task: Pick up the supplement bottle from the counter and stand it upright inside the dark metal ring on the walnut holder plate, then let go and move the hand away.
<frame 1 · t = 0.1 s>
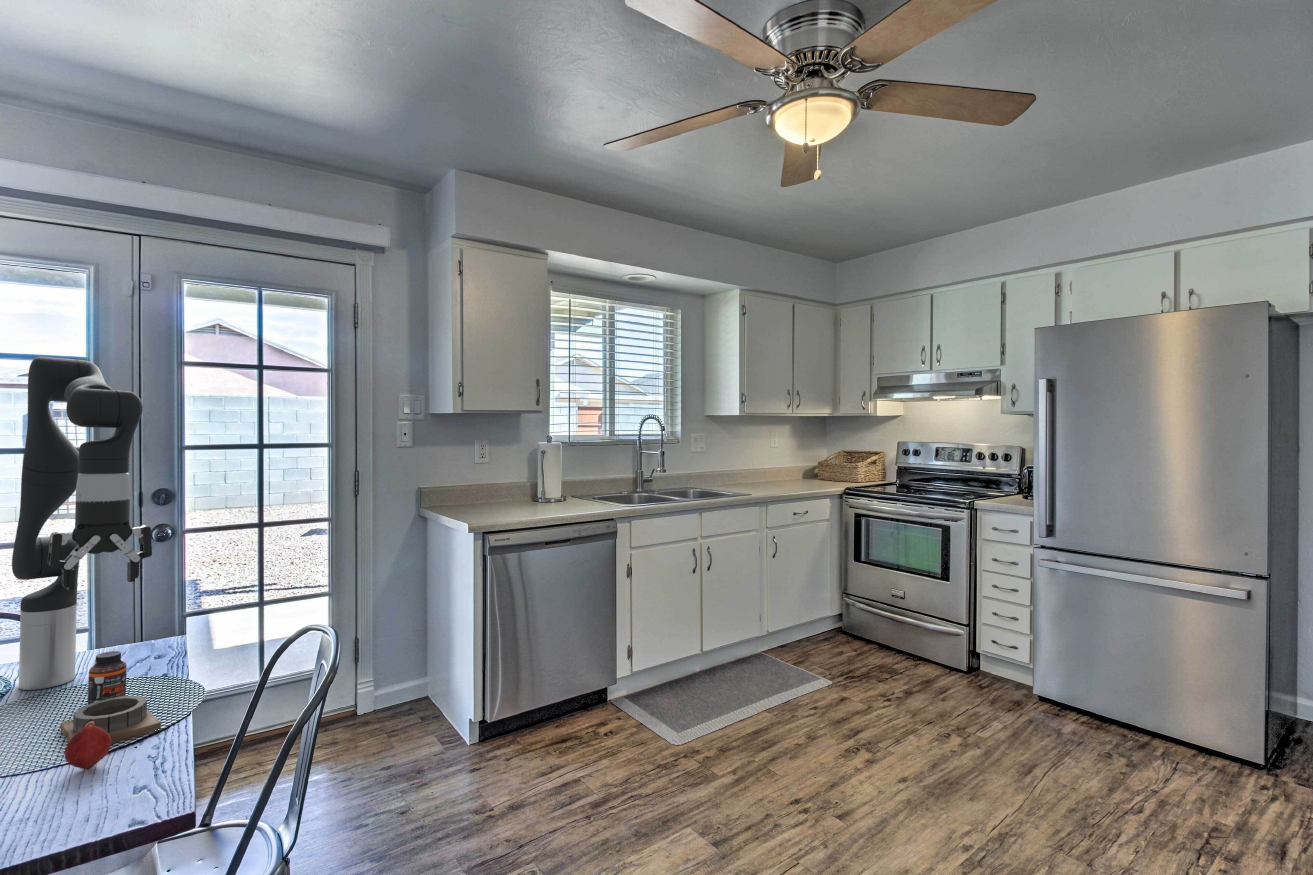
hand: (101, 585, 115), 29 cm above the table, tool pointing down, fingers open, 8 cm apart
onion: (88, 770, 106), on the table
ring holder: (110, 730, 120), on the table
supplement bottle: (106, 709, 130), on the table
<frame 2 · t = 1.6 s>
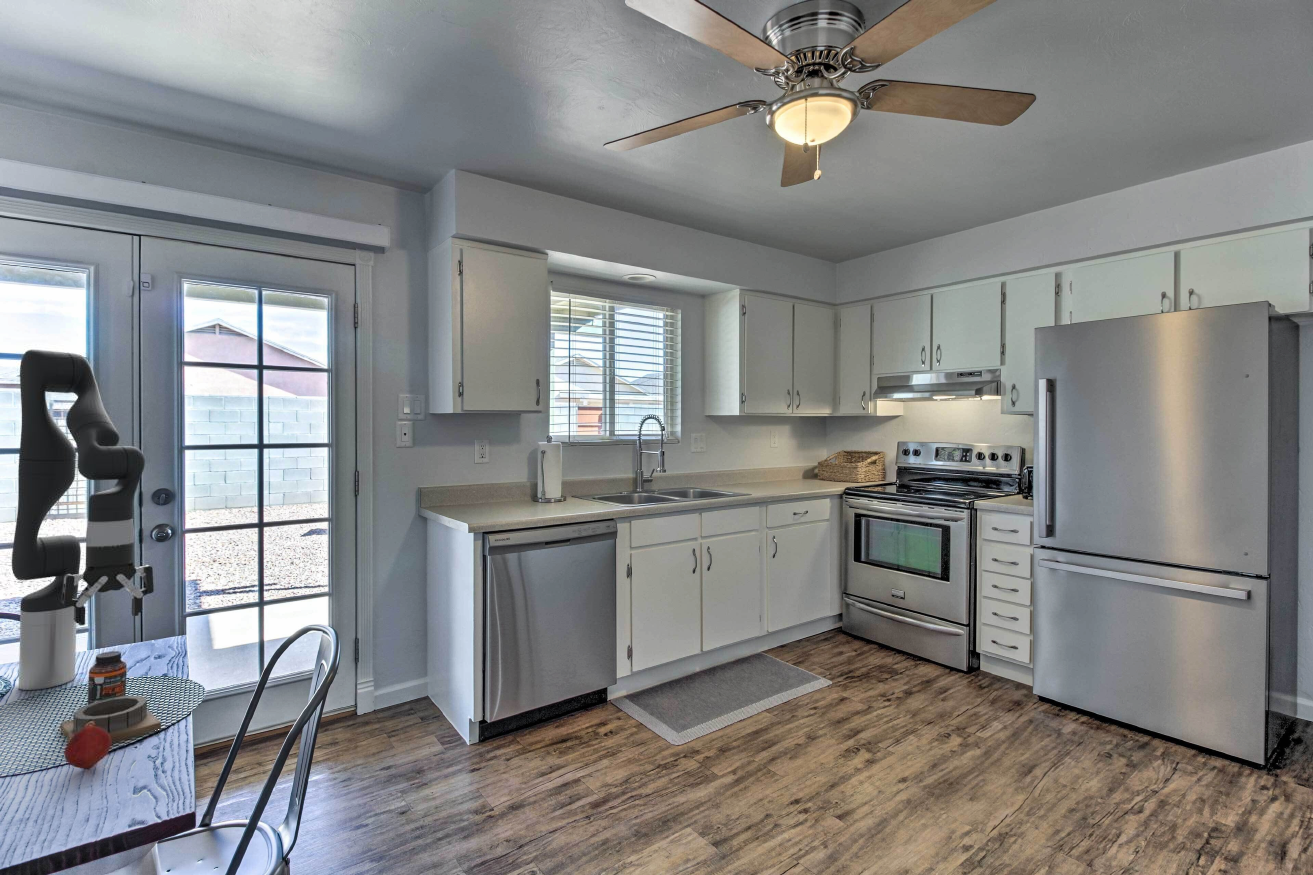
hand: (108, 619, 130), 18 cm above the table, tool pointing down, fingers open, 8 cm apart
nothing on the table moved.
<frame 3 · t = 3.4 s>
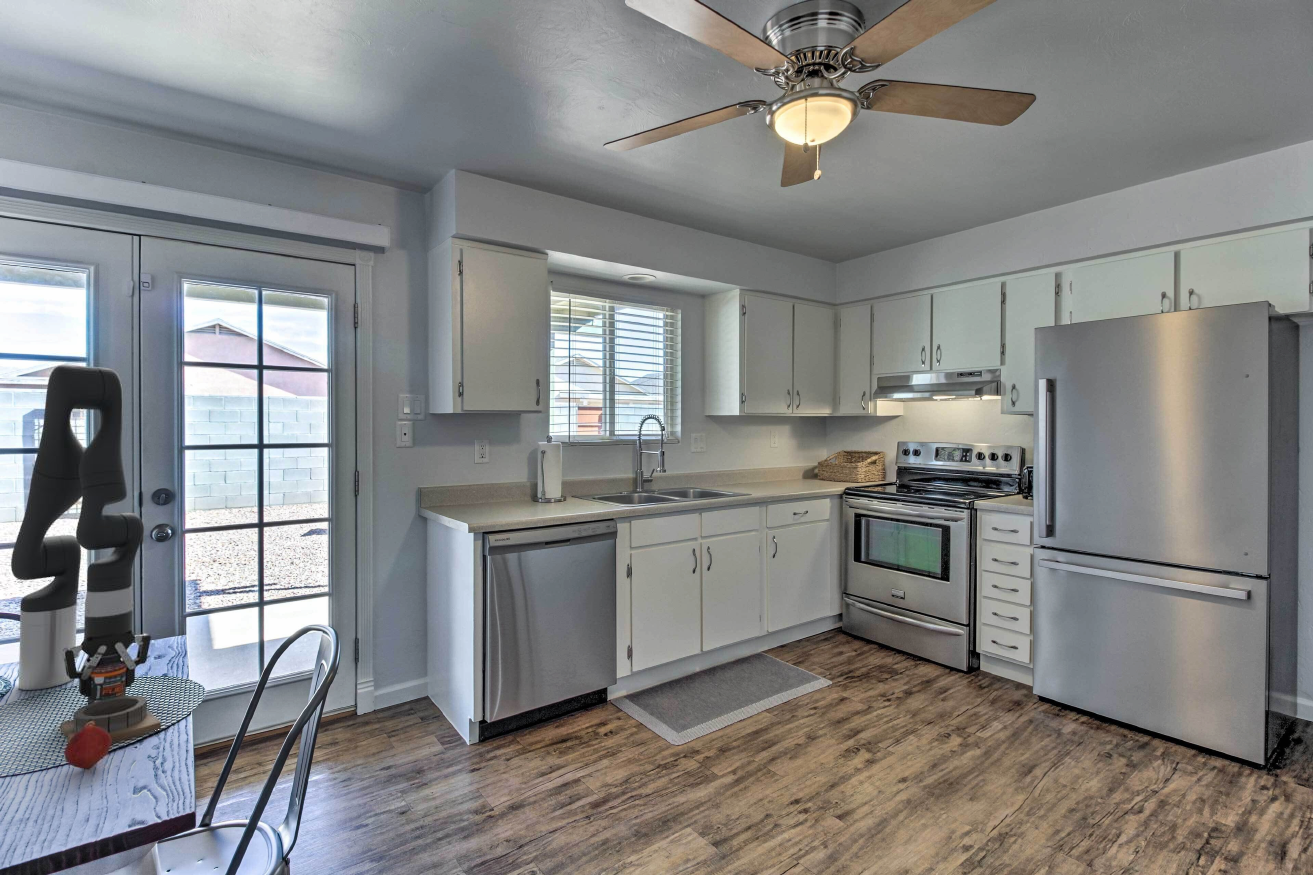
hand: (107, 690, 130), 4 cm above the table, tool pointing down, fingers closed on supplement bottle, 6 cm apart
supplement bottle: (106, 709, 130), on the table, touching gripper
everything else where it was.
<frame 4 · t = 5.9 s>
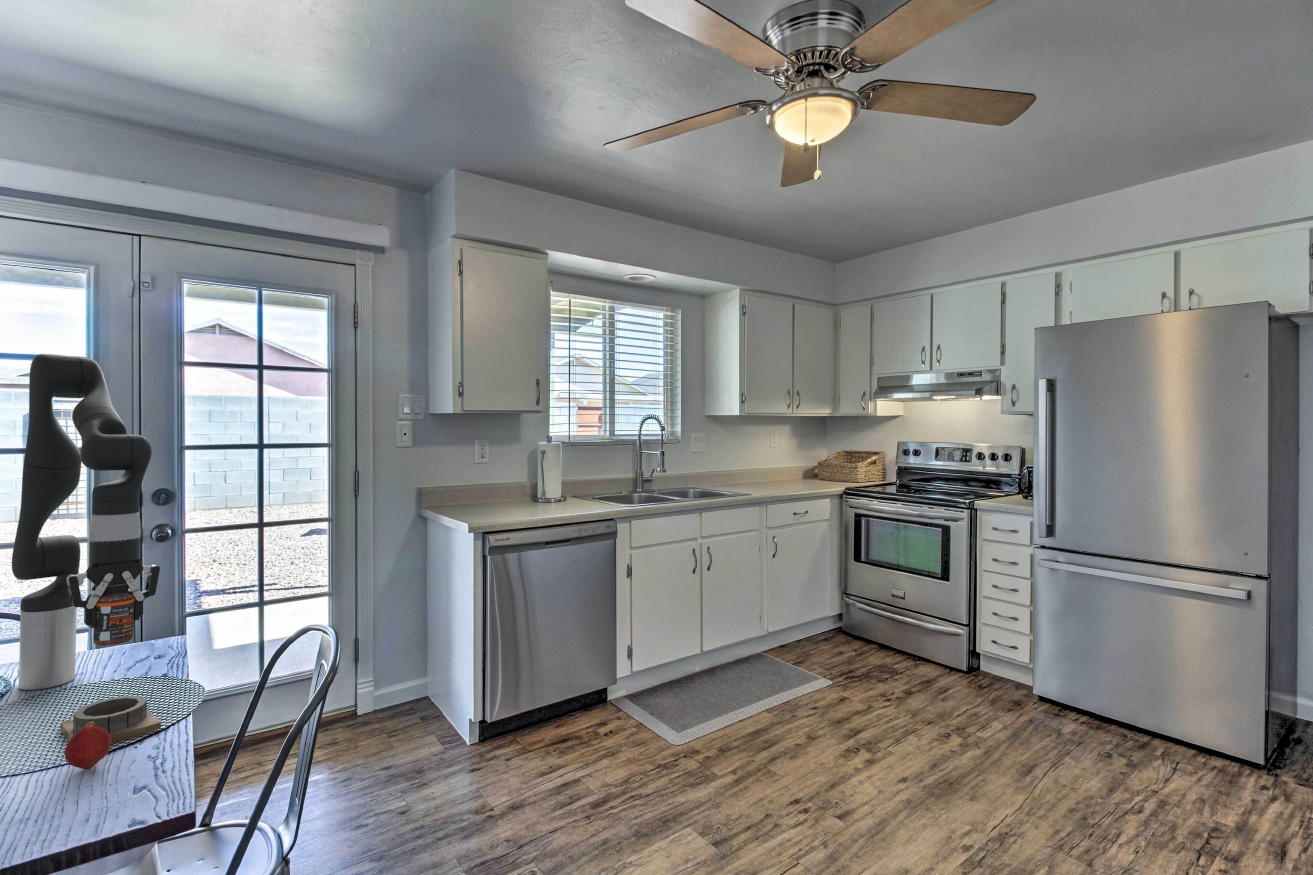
hand: (114, 623, 121), 20 cm above the table, tool pointing down, fingers closed on supplement bottle, 6 cm apart
supplement bottle: (113, 642, 121), point 16 cm above the table, touching gripper
everything else where it was.
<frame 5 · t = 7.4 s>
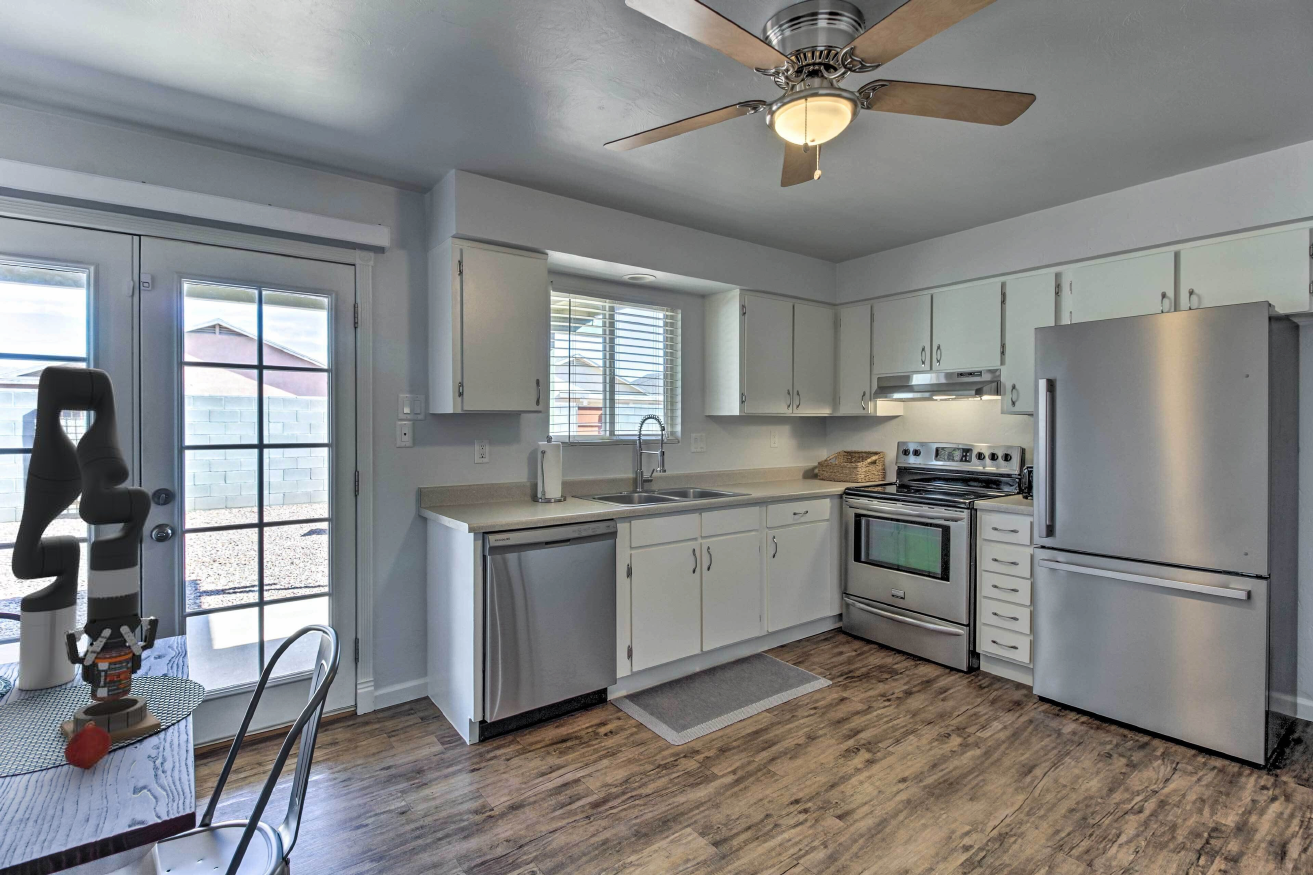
hand: (111, 677, 120), 10 cm above the table, tool pointing down, fingers closed on supplement bottle, 6 cm apart
supplement bottle: (111, 697, 120), point 6 cm above the table, touching gripper
everything else where it was.
when the fingers open (6 cm above the table, at t = 8.6 s): supplement bottle drops 1 cm, resting on ring holder.
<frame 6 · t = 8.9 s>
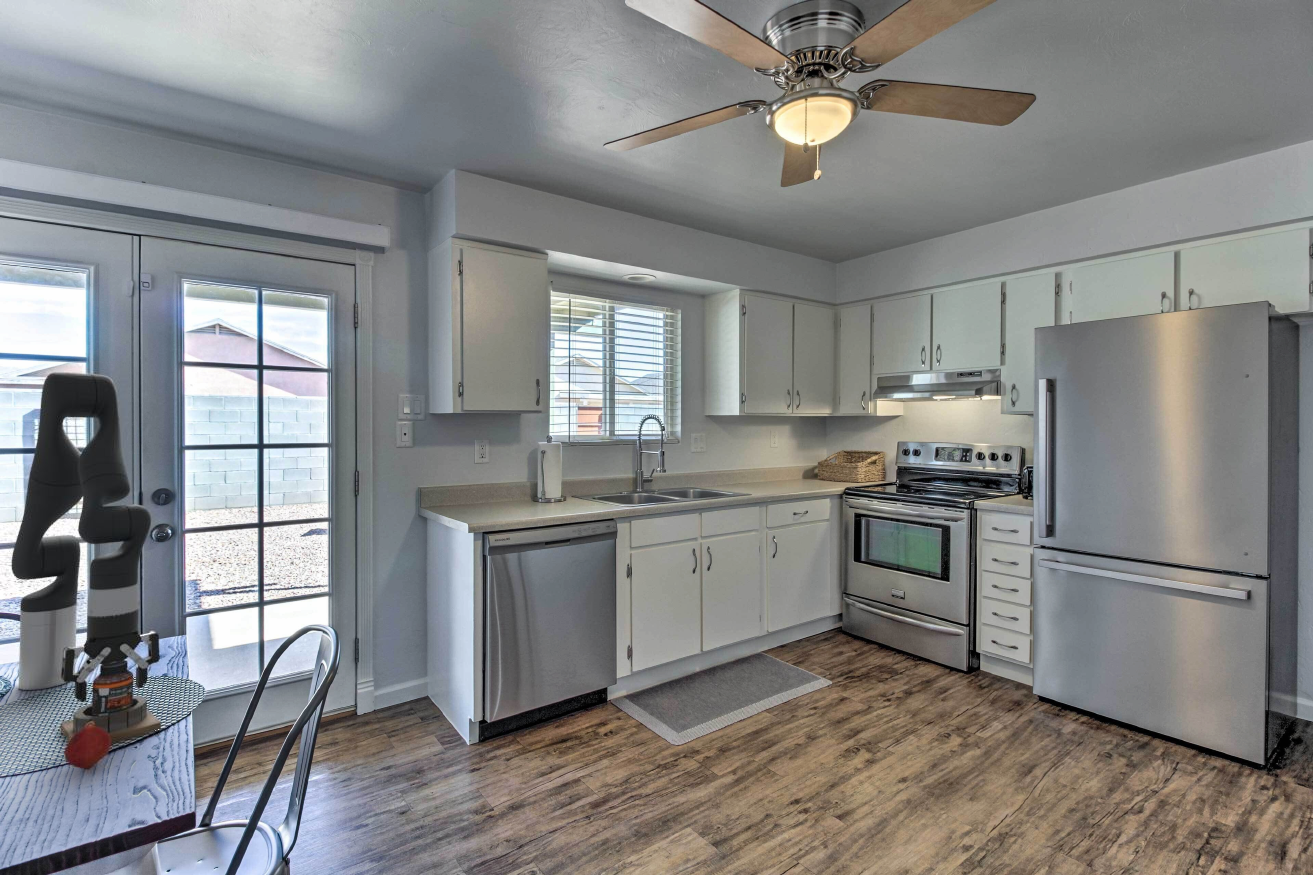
hand: (111, 693, 120), 7 cm above the table, tool pointing down, fingers open, 8 cm apart
supplement bottle: (112, 722, 120), point 1 cm above the table, touching ring holder
everything else where it was.
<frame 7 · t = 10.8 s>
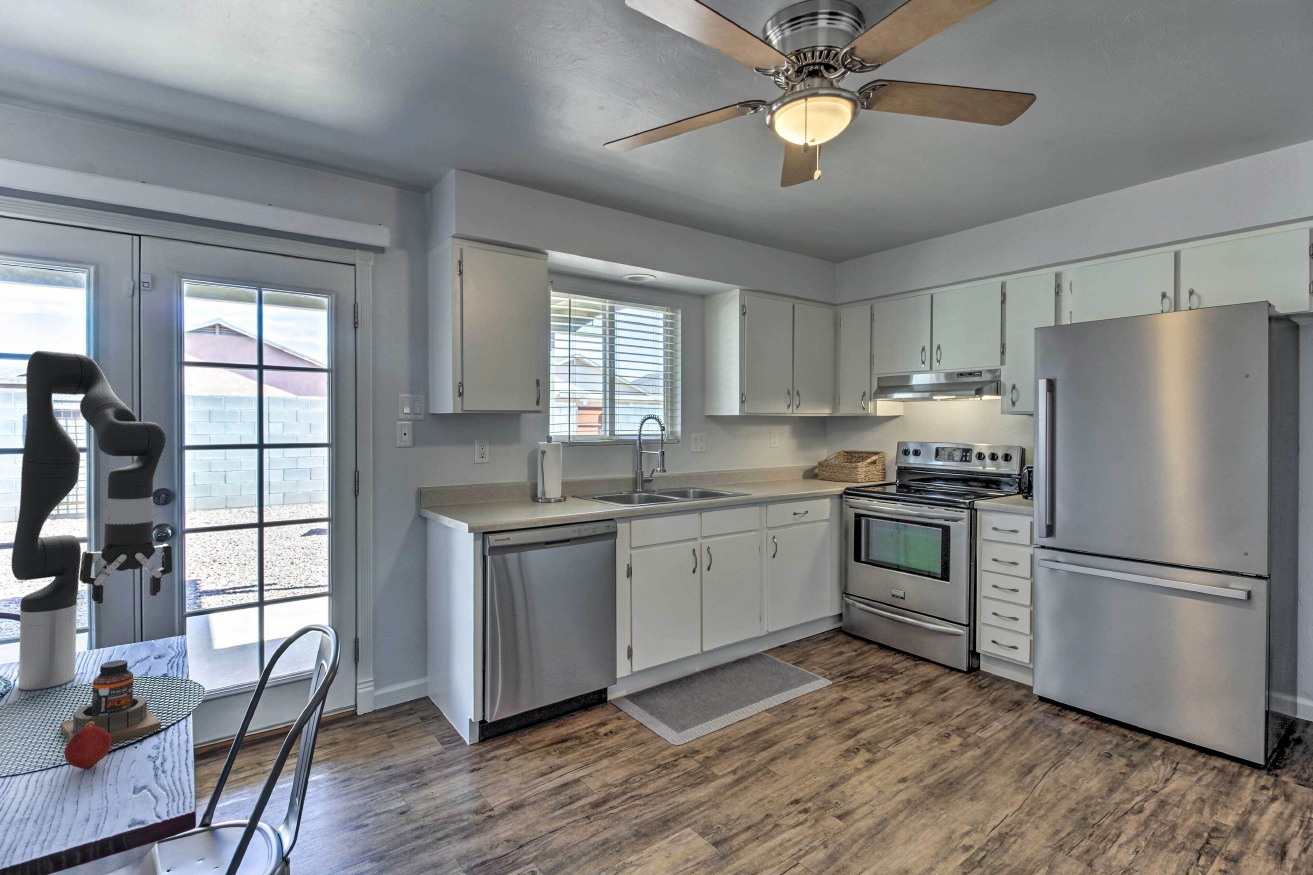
hand: (126, 598, 127), 23 cm above the table, tool pointing down, fingers open, 8 cm apart
nothing on the table moved.
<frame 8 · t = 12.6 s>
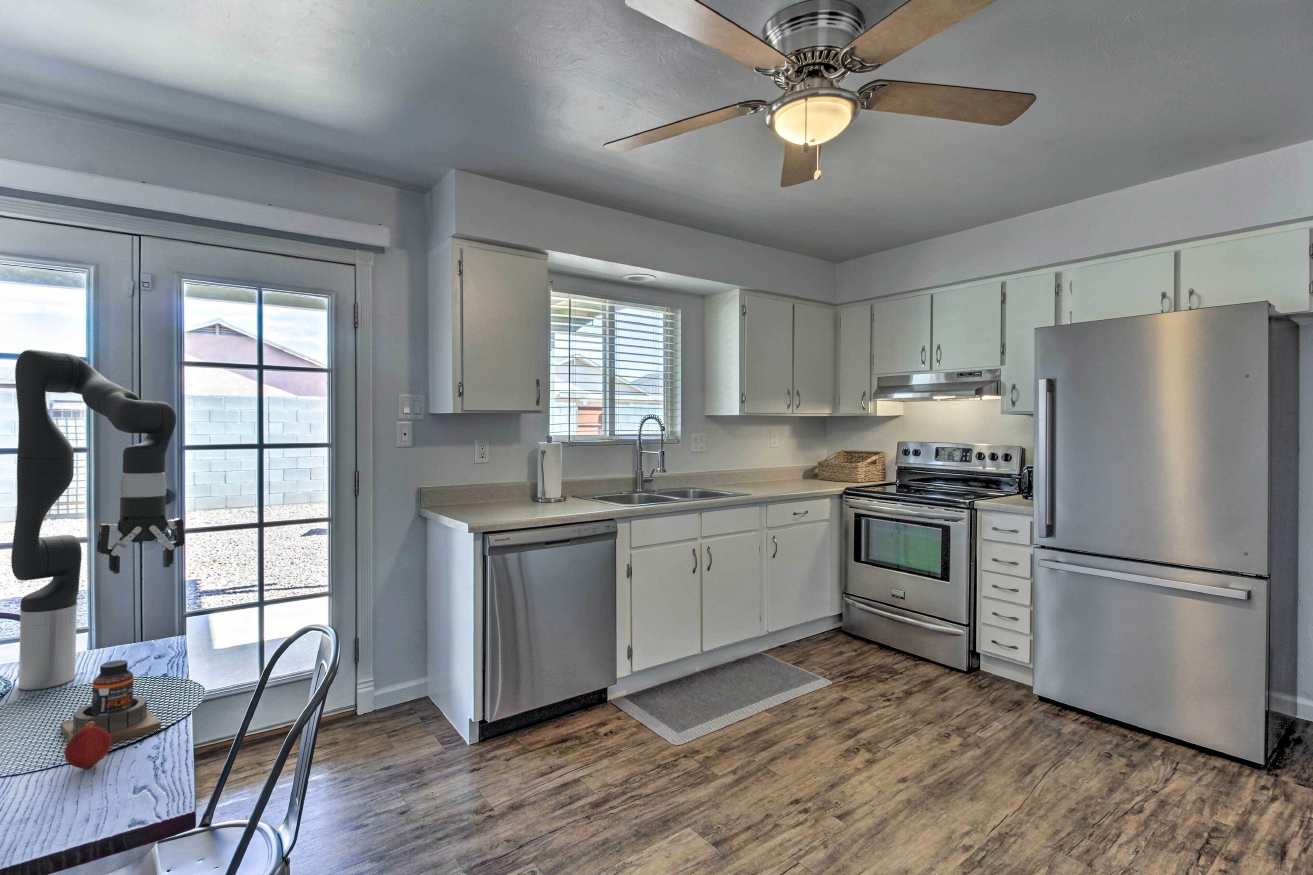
hand: (141, 569, 133), 28 cm above the table, tool pointing down, fingers open, 8 cm apart
nothing on the table moved.
at the end: supplement bottle 0.2 cm off-centre on the ring holder, point 1.3 cm above the ring holder's base; supplement bottle tilted 0°; the gripper is holding nothing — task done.
